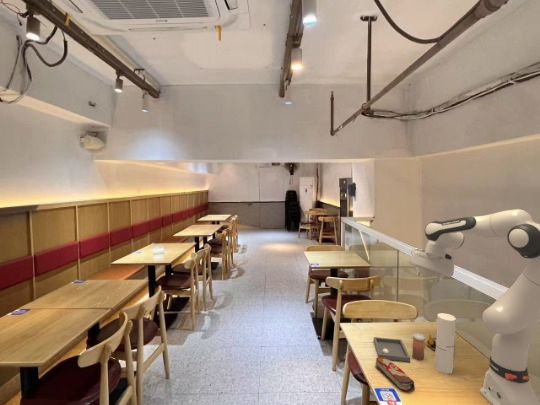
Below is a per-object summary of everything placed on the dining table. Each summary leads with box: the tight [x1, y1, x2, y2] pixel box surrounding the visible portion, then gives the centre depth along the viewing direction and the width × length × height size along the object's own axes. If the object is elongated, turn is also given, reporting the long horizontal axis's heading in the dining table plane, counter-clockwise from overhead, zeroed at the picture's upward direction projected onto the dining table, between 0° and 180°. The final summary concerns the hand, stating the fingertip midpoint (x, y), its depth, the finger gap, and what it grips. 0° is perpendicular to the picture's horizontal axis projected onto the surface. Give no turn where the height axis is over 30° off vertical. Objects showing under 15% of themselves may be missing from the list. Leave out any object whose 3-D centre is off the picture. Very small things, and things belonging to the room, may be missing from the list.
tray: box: [373, 336, 411, 364], centre depth 150 cm, size 16×14×2 cm
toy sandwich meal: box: [426, 334, 436, 352], centre depth 154 cm, size 12×14×5 cm
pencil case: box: [375, 357, 416, 392], centre depth 131 cm, size 11×20×5 cm, turn 3°
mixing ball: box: [382, 349, 389, 354], centre depth 147 cm, size 3×3×3 cm
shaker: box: [411, 332, 426, 362], centre depth 145 cm, size 5×5×11 cm
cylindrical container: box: [434, 312, 457, 375], centre depth 136 cm, size 7×7×25 cm
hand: (427, 279), depth 151 cm, fingers open, 8 cm apart
